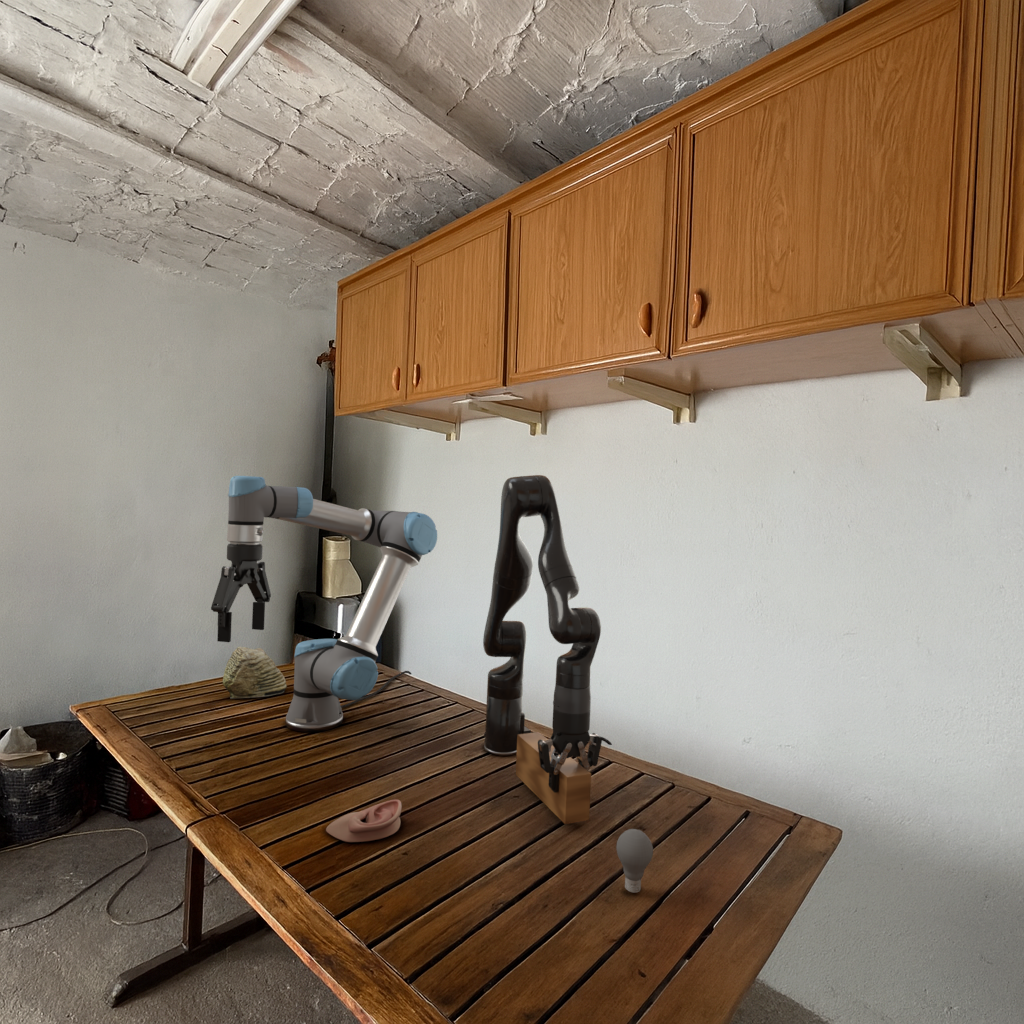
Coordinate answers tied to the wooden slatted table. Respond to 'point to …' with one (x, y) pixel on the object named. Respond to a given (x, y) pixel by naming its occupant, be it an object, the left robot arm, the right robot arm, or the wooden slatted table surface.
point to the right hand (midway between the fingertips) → (568, 788)
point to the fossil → (252, 674)
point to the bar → (572, 781)
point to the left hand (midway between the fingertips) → (241, 635)
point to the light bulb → (634, 857)
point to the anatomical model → (368, 823)
